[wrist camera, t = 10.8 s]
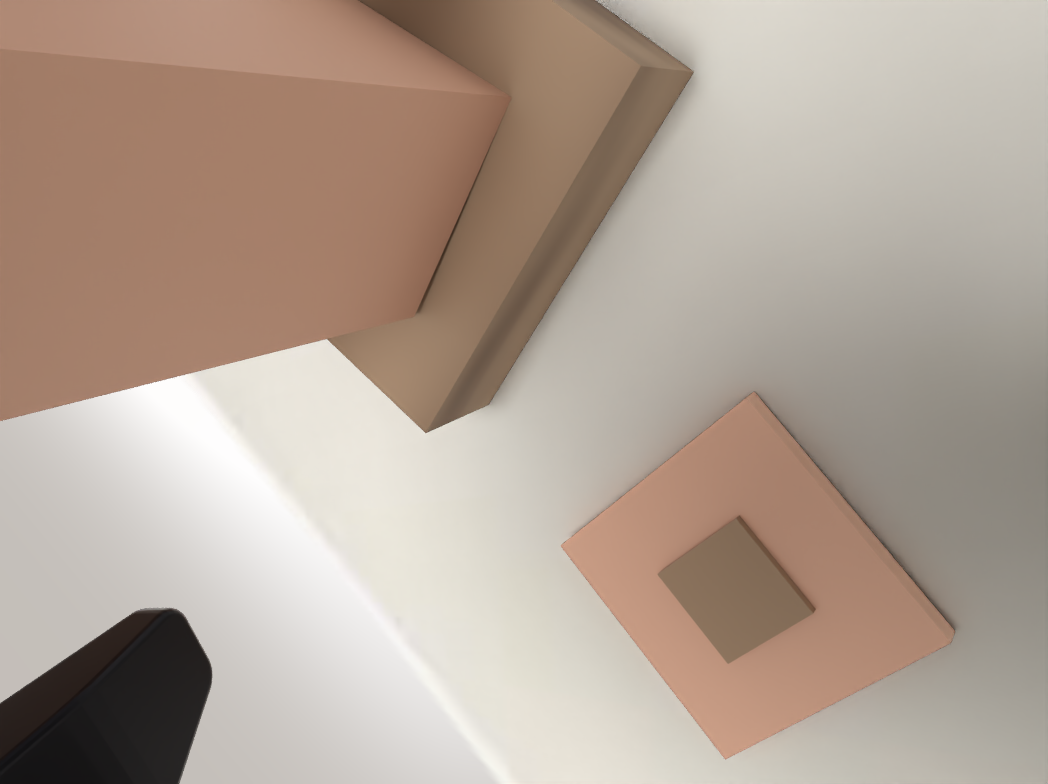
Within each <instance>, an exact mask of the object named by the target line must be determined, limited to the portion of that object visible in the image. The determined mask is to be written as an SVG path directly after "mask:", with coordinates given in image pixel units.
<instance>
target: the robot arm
mask: <svg viewBox="0 0 1048 784" xmlns="http://www.w3.org/2000/svg"><path fill="white" fill-rule="evenodd" d="M211 684H212V667H211V663H210V661H209V659H208V657H207V655H206V653H205V651H204V649H203V648H202V646H201V644H200V642H199V640H198V639H197V637H196V635H195V633H194V631H193V630H192V628H191V626H190V624H189V623H188V620H187V619H186V617H185V616H184V614H183V613H181V612H180V611H179V610H177V609H173V608H145V609H140V610H138V611H135V612H134V613H132V614H131V615H129V616H128V617H126V618H125V619H123V620H122V621H120V622H119V623H117V624H116V625H114V626H113V627H111V628H110V629H109V630H107V631H106V632H104V633H103V634H101V635H100V636H98V637H97V638H96V639H94V640H92V641H91V642H89V643H88V644H87V645H85V646H84V647H82V648H81V649H79V650H78V651H77V652H75V653H73V654H72V655H70V656H69V657H67V658H66V659H64V660H63V661H62V662H60V663H59V664H57V665H56V666H54V667H53V668H51V669H50V670H48V671H47V672H46V673H44V674H42V675H41V676H40V677H38V678H37V679H35V680H34V681H32V682H31V683H29V684H28V685H26V686H25V687H23V688H22V689H21V690H19V691H17V692H16V693H15V694H13V695H12V696H10V697H9V698H7V699H6V700H4V701H3V702H1V703H0V784H179V783H180V780H181V777H182V774H183V771H184V767H185V765H186V761H187V758H188V755H189V752H190V749H191V746H192V743H193V740H194V737H195V734H196V731H197V728H198V725H199V722H200V719H201V716H202V712H203V710H204V707H205V704H206V701H207V697H208V694H209V691H210V688H211Z"/></svg>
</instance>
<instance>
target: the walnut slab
mask: <svg viewBox="0 0 1048 784" xmlns="http://www.w3.org/2000/svg"><path fill="white" fill-rule="evenodd" d="M358 1H360V2H361V3H363V4H365V5H366V6H368V7H369V8H371V9H372V10H374V11H376V12H377V13H379V14H380V15H382V16H384V17H385V18H387V19H388V20H390V21H391V22H393V23H395V24H396V25H398V26H399V27H401V28H403V29H404V30H406V31H407V32H409V33H411V34H412V35H414V36H415V37H417V38H418V39H420V40H422V41H423V42H425V43H426V44H428V45H430V46H431V47H433V48H434V49H436V50H437V51H439V52H441V53H442V54H444V55H445V56H447V57H449V58H450V59H452V60H453V61H455V62H457V63H458V64H460V65H461V66H463V67H464V68H466V69H468V70H469V71H471V72H472V73H474V74H476V75H477V76H479V77H480V78H482V79H483V80H485V81H487V82H488V83H490V84H491V85H493V86H495V87H496V88H498V89H499V90H501V91H502V92H504V93H506V94H507V95H509V96H510V97H512V98H511V100H510V102H509V105H508V107H507V109H506V111H505V114H504V116H503V118H502V120H501V123H500V125H499V127H498V129H497V132H496V134H495V136H494V138H493V141H492V143H491V145H490V147H489V150H488V152H487V154H486V156H485V159H484V161H483V163H482V165H481V168H480V170H479V172H478V174H477V177H476V179H475V181H474V183H473V186H472V188H471V190H470V192H469V195H468V197H467V199H466V201H465V204H464V206H463V208H462V210H461V213H460V215H459V217H458V219H457V222H456V224H455V226H454V228H453V231H452V233H451V235H450V237H449V240H448V242H447V244H446V246H445V249H444V251H443V253H442V255H441V258H440V260H439V262H438V264H437V267H436V269H435V271H434V273H433V276H432V278H431V280H430V282H429V285H428V287H427V289H426V291H425V294H424V296H423V298H422V300H421V303H420V305H419V307H418V309H417V312H416V314H415V316H414V317H411V318H407V319H404V320H400V321H396V322H392V323H388V324H384V325H380V326H376V327H372V328H368V329H364V330H360V331H356V332H352V333H348V334H344V335H340V336H336V337H332V338H328V340H329V341H330V342H331V343H332V344H333V345H334V346H335V347H336V348H337V349H338V350H339V351H340V352H341V353H342V354H343V355H344V356H345V357H346V358H347V359H349V360H350V361H351V362H352V363H353V364H354V365H355V366H356V367H357V368H358V369H359V370H360V371H361V372H362V373H363V374H364V375H365V376H366V377H367V378H368V379H370V380H371V381H372V382H373V383H374V384H375V385H376V386H377V387H378V388H379V389H380V390H381V391H382V392H383V393H384V394H385V395H386V396H387V397H388V398H390V399H391V400H392V401H393V402H394V403H395V404H396V405H397V406H398V407H399V408H400V409H401V410H402V411H403V412H404V413H405V414H406V415H407V416H408V417H409V418H411V419H412V420H413V421H414V422H415V423H416V424H417V425H418V426H419V427H420V428H421V429H422V430H423V431H424V432H425V433H427V432H429V431H431V430H434V429H436V428H438V427H440V426H443V425H445V424H447V423H449V422H451V421H454V420H456V419H458V418H460V417H463V416H465V415H467V414H469V413H471V412H474V411H476V410H478V409H480V408H483V407H485V406H487V405H489V403H490V402H491V400H492V398H493V397H494V395H495V393H496V392H497V390H498V389H499V387H500V385H501V384H502V382H503V381H504V379H505V377H506V376H507V374H508V372H509V371H510V369H511V368H512V366H513V364H514V363H515V361H516V359H517V358H518V356H519V355H520V353H521V351H522V350H523V348H524V346H525V345H526V343H527V342H528V340H529V338H530V337H531V335H532V334H533V332H534V330H535V329H536V327H537V325H538V324H539V322H540V321H541V319H542V317H543V316H544V314H545V312H546V311H547V309H548V308H549V306H550V304H551V303H552V301H553V299H554V298H555V296H556V295H557V293H558V291H559V290H560V288H561V287H562V285H563V283H564V282H565V280H566V278H567V277H568V275H569V274H570V272H571V270H572V269H573V267H574V265H575V264H576V262H577V261H578V259H579V257H580V256H581V254H582V252H583V251H584V249H585V248H586V246H587V244H588V243H589V241H590V240H591V238H592V236H593V235H594V233H595V231H596V230H597V228H598V227H599V225H600V223H601V222H602V220H603V218H604V217H605V215H606V214H607V212H608V210H609V209H610V207H611V205H612V204H613V202H614V201H615V199H616V197H617V196H618V194H619V193H620V191H621V189H622V188H623V186H624V184H625V183H626V181H627V180H628V178H629V176H630V175H631V173H632V171H633V170H634V168H635V167H636V165H637V163H638V162H639V160H640V158H641V157H642V155H643V154H644V152H645V150H646V149H647V147H648V146H649V144H650V142H651V141H652V139H653V137H654V136H655V134H656V133H657V131H658V129H659V128H660V126H661V124H662V123H663V121H664V120H665V118H666V116H667V115H668V113H669V111H670V110H671V108H672V107H673V105H674V103H675V102H676V100H677V99H678V97H679V95H680V94H681V92H682V90H683V89H684V87H685V86H686V84H687V82H688V81H689V79H690V77H691V76H692V74H693V73H694V72H693V71H692V70H691V69H689V68H688V67H687V66H685V65H684V64H682V63H681V62H680V61H678V60H677V59H675V58H674V57H673V56H671V55H670V54H669V53H667V52H666V51H664V50H663V49H662V48H660V47H659V46H658V45H656V44H655V43H653V42H652V41H651V40H649V39H648V38H646V37H645V36H644V35H642V34H641V33H640V32H638V31H637V30H635V29H634V28H633V27H631V26H630V25H628V24H627V23H626V22H624V21H623V20H622V19H620V18H619V17H617V16H616V15H615V14H613V13H612V12H610V11H609V10H608V9H606V8H605V7H604V6H602V5H601V4H599V3H598V2H597V1H595V0H358Z"/></svg>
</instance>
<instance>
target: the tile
mask: <svg viewBox="0 0 1048 784" xmlns="http://www.w3.org/2000/svg"><path fill="white" fill-rule="evenodd" d="M561 547H562V548H563V550H564V551H565V552H566V554H567V555H568V556H569V558H570V559H571V560H572V561H573V563H574V564H575V565H576V567H577V568H578V569H579V571H580V572H581V573H582V574H583V576H584V577H585V578H586V580H587V581H588V582H589V583H590V585H591V586H592V587H593V589H594V590H595V591H596V593H597V594H598V595H599V596H600V598H601V599H602V600H603V602H604V603H605V604H606V606H607V607H608V608H609V609H610V611H611V612H612V613H613V615H614V616H615V617H616V619H617V620H618V621H619V622H620V624H621V625H622V626H623V628H624V629H625V630H626V631H627V633H628V634H629V635H630V637H631V638H632V639H633V641H634V642H635V643H636V644H637V646H638V647H639V648H640V650H641V651H642V652H643V654H644V655H645V656H646V657H647V659H648V660H649V661H650V663H651V664H652V665H653V666H654V668H655V669H656V670H657V672H658V673H659V674H660V676H661V677H662V678H663V679H664V681H665V682H666V683H667V685H668V686H669V687H670V689H671V690H672V691H673V692H674V694H675V695H676V696H677V698H678V699H679V700H680V701H681V703H682V704H683V705H684V707H685V708H686V709H687V711H688V712H689V713H690V714H691V716H692V717H693V718H694V720H695V721H696V722H697V724H698V725H699V726H700V727H701V729H702V730H703V731H704V733H705V734H706V735H707V736H708V738H709V739H710V740H711V742H712V743H713V744H714V746H715V747H716V748H717V749H718V751H719V752H720V753H721V755H722V756H723V757H724V759H727V758H729V757H731V756H733V755H735V754H737V753H739V752H741V751H743V750H745V749H747V748H749V747H751V746H753V745H755V744H756V743H758V742H760V741H762V740H764V739H766V738H768V737H770V736H772V735H774V734H776V733H778V732H780V731H782V730H784V729H786V728H788V727H789V726H791V725H793V724H795V723H797V722H799V721H801V720H803V719H805V718H807V717H809V716H811V715H813V714H815V713H817V712H819V711H820V710H822V709H824V708H826V707H828V706H830V705H832V704H834V703H836V702H838V701H840V700H842V699H844V698H846V697H848V696H850V695H851V694H853V693H855V692H857V691H859V690H861V689H863V688H865V687H867V686H869V685H871V684H873V683H875V682H877V681H879V680H881V679H883V678H884V677H886V676H888V675H890V674H892V673H894V672H896V671H898V670H900V669H902V668H904V667H906V666H908V665H910V664H912V663H914V662H915V661H917V660H919V659H921V658H923V657H925V656H927V655H929V654H931V653H933V652H935V651H937V650H939V649H941V648H943V647H945V646H947V645H948V644H950V643H951V642H952V639H953V636H954V633H955V630H954V629H953V628H952V627H951V626H950V624H949V623H948V622H947V621H946V620H945V618H944V617H943V616H942V615H941V614H940V613H939V611H938V610H937V609H936V608H935V607H934V605H933V604H932V603H931V602H930V601H929V599H928V598H927V597H926V596H925V595H924V593H923V592H922V591H921V590H920V589H919V587H918V586H917V585H916V584H915V583H914V581H913V580H912V579H911V578H910V577H909V576H908V574H907V573H906V572H905V571H904V570H903V568H902V567H901V566H900V565H899V564H898V562H897V561H896V560H895V559H894V558H893V556H892V555H891V554H890V553H889V552H888V550H887V549H886V548H885V547H884V546H883V544H882V543H881V542H880V541H879V540H878V539H877V537H876V536H875V535H874V534H873V533H872V531H871V530H870V529H869V528H868V527H867V525H866V524H865V523H864V522H863V521H862V519H861V518H860V517H859V516H858V515H857V513H856V512H855V511H854V510H853V509H852V507H851V506H850V505H849V504H848V503H847V502H846V500H845V499H844V498H843V497H842V496H841V494H840V493H839V492H838V491H837V490H836V488H835V487H834V486H833V485H832V484H831V482H830V481H829V480H828V479H827V478H826V476H825V475H824V474H823V473H822V472H821V471H820V469H819V468H818V467H817V466H816V465H815V463H814V462H813V461H812V460H811V459H810V457H809V456H808V455H807V454H806V453H805V451H804V450H803V449H802V448H801V447H800V445H799V444H798V443H797V442H796V441H795V439H794V438H793V437H792V436H791V435H790V434H789V432H788V431H787V430H786V429H785V428H784V426H783V425H782V424H781V423H780V422H779V420H778V419H777V418H776V417H775V416H774V414H773V413H772V412H771V411H770V410H769V408H768V407H767V406H766V405H765V404H764V402H763V401H762V400H761V399H760V398H759V397H758V395H757V394H756V393H755V392H753V393H751V394H750V395H749V396H748V397H746V398H745V399H744V400H742V401H741V402H740V403H739V404H737V405H736V406H735V407H734V408H732V409H731V410H730V411H729V412H727V413H726V414H725V415H724V416H722V417H721V418H720V419H719V420H717V421H716V422H715V423H714V424H712V425H711V426H710V427H709V428H707V429H706V430H705V431H704V432H702V433H701V434H700V435H699V436H697V437H696V438H695V439H694V440H692V441H691V442H690V443H689V444H687V445H686V446H685V447H684V448H682V449H681V450H680V451H678V452H677V453H676V454H675V455H673V456H672V457H671V458H670V459H668V460H667V461H666V462H665V463H663V464H662V465H661V466H660V467H658V468H657V469H656V470H655V471H653V472H652V473H651V474H650V475H648V476H647V477H646V478H645V479H643V480H642V481H641V482H640V483H638V484H637V485H636V486H635V487H633V488H632V489H631V490H630V491H628V492H627V493H626V494H625V495H623V496H622V497H621V498H620V499H618V500H617V501H616V502H615V503H613V504H612V505H611V506H609V507H608V508H607V509H606V510H604V511H603V512H602V513H601V514H599V515H598V516H597V517H596V518H594V519H593V520H592V521H591V522H589V523H588V524H587V525H586V526H584V527H583V528H582V529H581V530H579V531H578V532H577V533H576V534H574V535H573V536H572V537H571V538H569V539H568V540H567V541H566V542H564V543H563V544H562V545H561Z"/></svg>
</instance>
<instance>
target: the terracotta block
mask: <svg viewBox="0 0 1048 784" xmlns="http://www.w3.org/2000/svg"><path fill="white" fill-rule="evenodd" d="M511 98H512V97H510V96H509V95H507V94H506V93H504V92H502V91H501V90H499V89H498V88H496V87H495V86H493V85H491V84H490V83H488V82H487V81H485V80H483V79H482V78H480V77H479V76H477V75H476V74H474V73H472V72H471V71H469V70H468V69H466V68H464V67H463V66H461V65H460V64H458V63H457V62H455V61H453V60H452V59H450V58H449V57H447V56H445V55H444V54H442V53H441V52H439V51H437V50H436V49H434V48H433V47H431V46H430V45H428V44H426V43H425V42H423V41H422V40H420V39H418V38H417V37H415V36H414V35H412V34H411V33H409V32H407V31H406V30H404V29H403V28H401V27H399V26H398V25H396V24H395V23H393V22H391V21H390V20H388V19H387V18H385V17H384V16H382V15H380V14H379V13H377V12H376V11H374V10H372V9H371V8H369V7H368V6H366V5H365V4H363V3H361V2H360V1H358V0H0V421H3V420H7V419H10V418H14V417H18V416H22V415H26V414H30V413H34V412H38V411H42V410H46V409H50V408H54V407H58V406H62V405H66V404H70V403H74V402H78V401H82V400H86V399H89V398H94V397H98V396H102V395H106V394H110V393H114V392H118V391H121V390H125V389H130V388H134V387H138V386H141V385H145V384H149V383H153V382H157V381H161V380H165V379H169V378H173V377H177V376H181V375H185V374H189V373H193V372H197V371H201V370H205V369H209V368H213V367H217V366H221V365H225V364H229V363H233V362H237V361H241V360H245V359H249V358H253V357H257V356H261V355H265V354H269V353H272V352H276V351H280V350H284V349H288V348H292V347H296V346H300V345H304V344H308V343H312V342H316V341H320V340H324V339H328V338H332V337H336V336H340V335H344V334H348V333H352V332H356V331H360V330H364V329H368V328H372V327H376V326H380V325H384V324H388V323H392V322H396V321H400V320H404V319H407V318H411V317H414V316H415V314H416V312H417V309H418V307H419V305H420V303H421V300H422V298H423V296H424V294H425V291H426V289H427V287H428V285H429V282H430V280H431V278H432V276H433V273H434V271H435V269H436V267H437V264H438V262H439V260H440V258H441V255H442V253H443V251H444V249H445V246H446V244H447V242H448V240H449V237H450V235H451V233H452V231H453V228H454V226H455V224H456V222H457V219H458V217H459V215H460V213H461V210H462V208H463V206H464V204H465V201H466V199H467V197H468V195H469V192H470V190H471V188H472V186H473V183H474V181H475V179H476V177H477V174H478V172H479V170H480V168H481V165H482V163H483V161H484V159H485V156H486V154H487V152H488V150H489V147H490V145H491V143H492V141H493V138H494V136H495V134H496V132H497V129H498V127H499V125H500V123H501V120H502V118H503V116H504V114H505V111H506V109H507V107H508V105H509V102H510V100H511Z"/></svg>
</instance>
